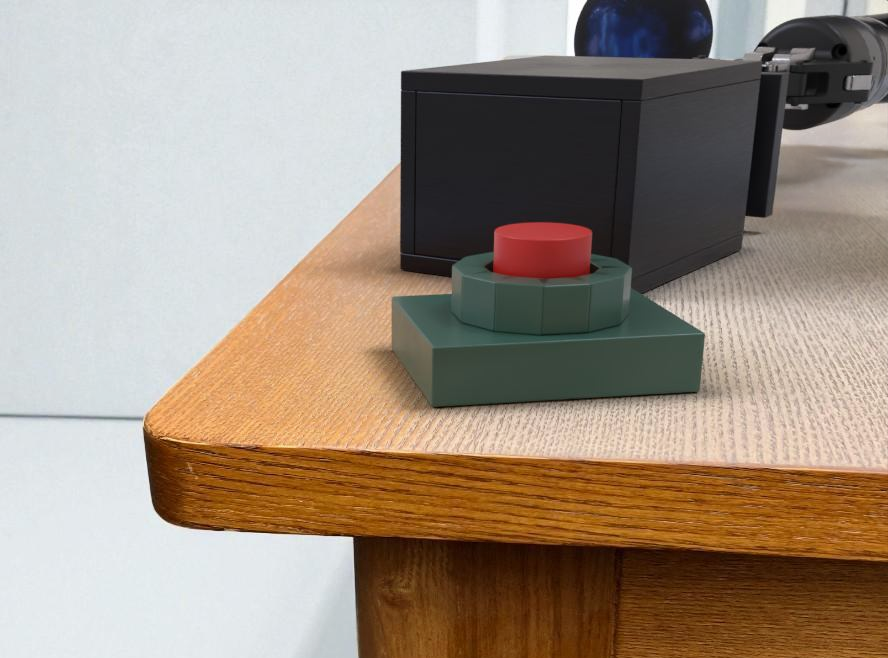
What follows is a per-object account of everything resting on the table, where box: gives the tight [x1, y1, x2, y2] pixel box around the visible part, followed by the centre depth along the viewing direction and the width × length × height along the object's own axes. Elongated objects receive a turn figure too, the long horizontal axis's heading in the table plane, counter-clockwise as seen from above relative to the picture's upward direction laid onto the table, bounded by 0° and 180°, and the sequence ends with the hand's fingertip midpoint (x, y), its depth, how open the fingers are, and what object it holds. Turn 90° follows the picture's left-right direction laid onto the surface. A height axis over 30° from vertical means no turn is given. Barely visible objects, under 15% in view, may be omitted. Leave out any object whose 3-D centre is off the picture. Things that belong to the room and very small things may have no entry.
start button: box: [493, 222, 592, 279], centre depth 48 cm, size 4×4×2 cm
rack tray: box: [745, 72, 789, 219], centre depth 73 cm, size 18×12×8 cm, turn 144°
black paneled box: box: [399, 55, 762, 294], centre depth 67 cm, size 15×13×10 cm
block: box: [391, 252, 706, 408], centre depth 49 cm, size 10×8×4 cm
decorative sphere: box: [573, 0, 714, 59], centre depth 143 cm, size 15×15×15 cm
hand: (729, 88), depth 81 cm, fingers closed
